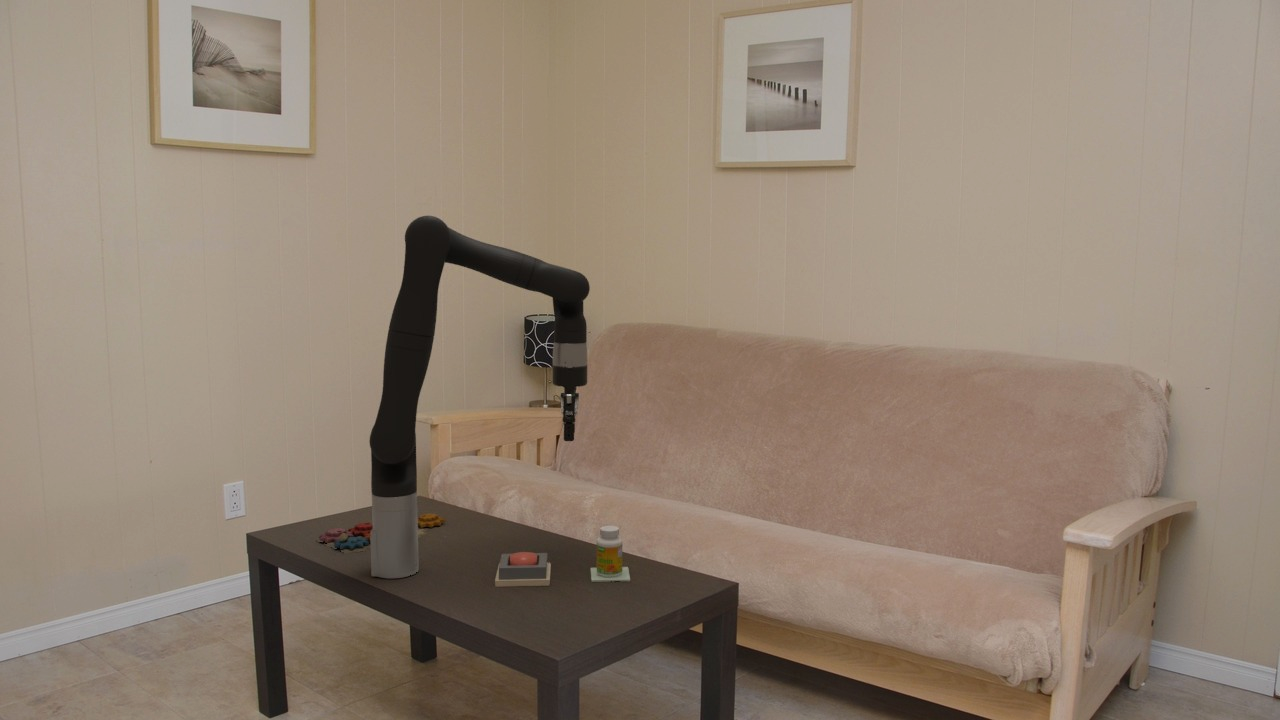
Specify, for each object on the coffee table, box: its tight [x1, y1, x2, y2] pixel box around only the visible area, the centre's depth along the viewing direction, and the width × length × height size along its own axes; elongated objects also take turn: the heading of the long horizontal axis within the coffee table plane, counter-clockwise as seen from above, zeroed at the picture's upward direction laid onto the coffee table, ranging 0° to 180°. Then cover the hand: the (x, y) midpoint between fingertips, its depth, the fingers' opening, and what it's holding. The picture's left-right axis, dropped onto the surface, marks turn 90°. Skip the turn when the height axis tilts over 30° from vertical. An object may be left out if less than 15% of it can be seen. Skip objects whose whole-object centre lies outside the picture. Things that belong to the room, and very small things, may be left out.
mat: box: [590, 566, 631, 583], centre depth 201 cm, size 8×8×1 cm
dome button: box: [510, 551, 537, 566], centre depth 199 cm, size 6×6×3 cm
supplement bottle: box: [596, 525, 623, 577], centre depth 201 cm, size 5×5×10 cm
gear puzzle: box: [317, 512, 446, 552], centre depth 230 cm, size 31×16×4 cm, turn 135°
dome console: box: [494, 552, 552, 588], centre depth 200 cm, size 11×11×4 cm
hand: (569, 437), depth 209 cm, fingers open, 8 cm apart
